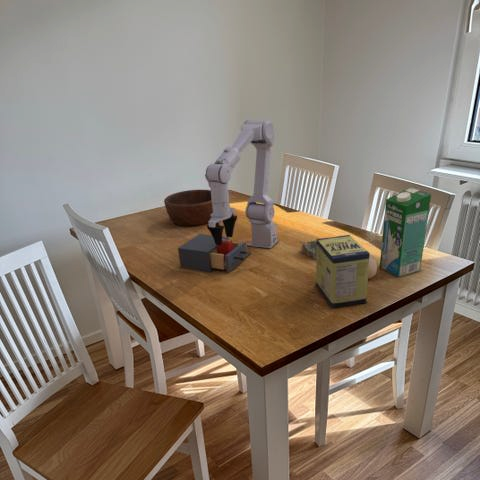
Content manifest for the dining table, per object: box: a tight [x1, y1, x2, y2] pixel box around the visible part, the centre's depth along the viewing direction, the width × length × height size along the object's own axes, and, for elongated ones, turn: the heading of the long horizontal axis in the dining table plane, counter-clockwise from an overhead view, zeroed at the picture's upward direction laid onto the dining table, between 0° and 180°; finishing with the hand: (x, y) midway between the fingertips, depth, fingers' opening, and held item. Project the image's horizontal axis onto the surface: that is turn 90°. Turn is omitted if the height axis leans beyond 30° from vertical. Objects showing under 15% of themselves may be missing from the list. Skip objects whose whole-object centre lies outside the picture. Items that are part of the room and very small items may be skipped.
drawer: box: [209, 241, 252, 273], centre depth 159 cm, size 15×13×6 cm
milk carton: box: [379, 187, 432, 278], centre depth 142 cm, size 9×9×25 cm
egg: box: [368, 254, 378, 280], centre depth 142 cm, size 6×6×8 cm
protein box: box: [315, 234, 371, 309], centre depth 133 cm, size 10×16×16 cm
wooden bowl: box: [163, 189, 213, 227], centre depth 205 cm, size 25×25×10 cm
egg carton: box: [299, 239, 317, 260], centre depth 163 cm, size 11×8×4 cm
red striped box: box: [217, 239, 233, 262], centre depth 158 cm, size 5×3×8 cm, turn 63°
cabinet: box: [177, 233, 230, 273], centre depth 163 cm, size 12×14×7 cm
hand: (224, 240), depth 156 cm, fingers open, 7 cm apart
